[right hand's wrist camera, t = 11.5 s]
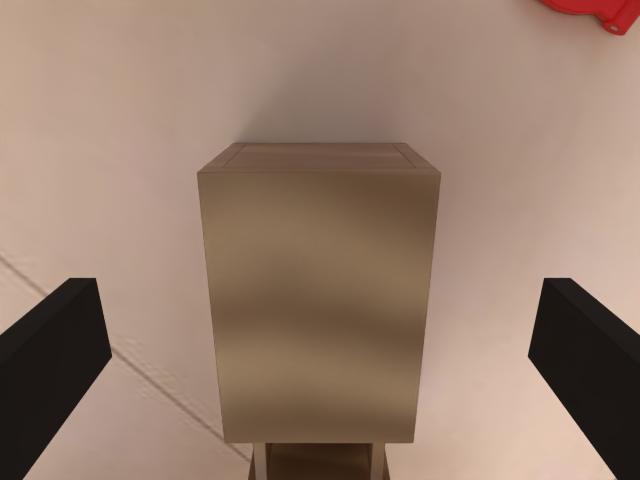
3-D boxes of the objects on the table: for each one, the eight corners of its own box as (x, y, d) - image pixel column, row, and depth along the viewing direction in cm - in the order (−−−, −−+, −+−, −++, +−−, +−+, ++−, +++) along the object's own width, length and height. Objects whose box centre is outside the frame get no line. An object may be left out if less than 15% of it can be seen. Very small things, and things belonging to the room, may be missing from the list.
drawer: (377, 484, 39) (388, 569, 32) (261, 484, 39) (249, 568, 32) (391, 271, 31) (410, 324, 25) (247, 271, 31) (227, 324, 25)
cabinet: (390, 353, 35) (413, 443, 26) (247, 353, 35) (224, 443, 26) (406, 143, 29) (441, 172, 20) (232, 143, 29) (196, 171, 20)
